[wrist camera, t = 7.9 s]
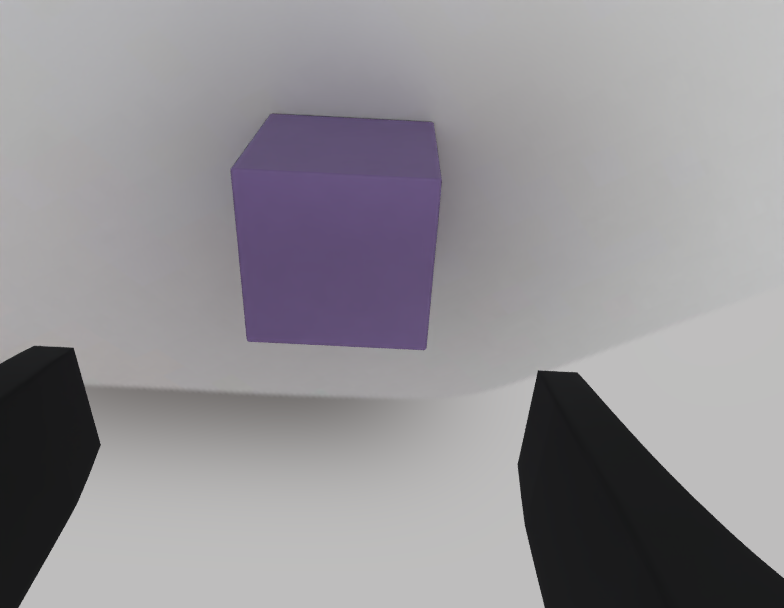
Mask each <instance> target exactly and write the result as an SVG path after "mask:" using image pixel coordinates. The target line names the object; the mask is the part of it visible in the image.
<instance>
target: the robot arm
mask: <svg viewBox="0 0 784 608" xmlns="http://www.w3.org/2000/svg"><path fill="white" fill-rule="evenodd" d="M100 445H101V444H100V441H99V437H98V434H97V430H96V426H95V423H94V419H93V416H92V412H91V408H90V405H89V401H88V398H87V394H86V391H85V387H84V383H83V380H82V376H81V373H80V369H79V366H78V362H77V358H76V355H75V351H74V348H67V347H47V346H33V347H31V348H29V349H27V350H25V351H23V352H21V353H19V354H17V355H15V356H13V357H12V358H10V359H8V360H6V361H4V362H3V363H1V364H0V608H18V607H19V605H20V604H21V602H22V600H23V599H24V597H25V595H26V593H27V592H28V590H29V588H30V586H31V584H32V583H33V581H34V579H35V578H36V576H37V574H38V572H39V571H40V569H41V567H42V565H43V564H44V562H45V560H46V558H47V557H48V555H49V553H50V551H51V550H52V548H53V546H54V544H55V543H56V541H57V539H58V537H59V535H60V534H61V532H62V530H63V528H64V527H65V525H66V523H67V521H68V519H69V518H70V516H71V514H72V512H73V510H74V508H75V506H76V505H77V502H78V500H79V498H80V495H81V493H82V491H83V488H84V486H85V484H86V481H87V479H88V477H89V474H90V471H91V469H92V466H93V464H94V461H95V458H96V455H97V453H98V450H99V448H100ZM518 472H519V481H520V490H521V499H522V506H523V514H524V522H525V527H526V532H527V536H528V540H529V545H530V549H531V553H532V557H533V561H534V565H535V570H536V574H537V578H538V582H539V586H540V590H541V594H542V597H543V602H544V606H545V608H784V578H783V577H781V576H780V575H779V574H778V573H776V571H774V570H773V569H772V568H771V567H770V566H768V565H767V564H766V563H765V562H764V561H762V560H761V559H760V558H759V557H758V556H756V555H755V554H754V553H753V552H752V551H751V550H750V549H748V548H747V547H746V546H745V545H744V544H743V543H742V542H741V541H740V540H738V539H737V538H736V537H735V536H734V535H733V534H732V533H730V531H729V530H727V529H726V528H725V527H724V526H723V525H722V524H721V523H720V522H719V521H718V520H717V519H716V518H715V517H714V516H713V515H711V513H709V512H708V511H707V510H706V509H705V508H704V507H703V506H702V505H701V504H700V503H699V502H698V501H697V500H696V499H695V498H694V497H693V496H692V495H691V494H689V492H688V491H687V490H686V489H684V487H683V486H681V484H680V483H679V482H678V481H677V480H676V479H675V478H674V477H673V476H672V475H670V473H669V472H668V471H667V470H666V469H665V468H664V467H663V466H662V465H661V464H660V463H659V462H658V461H657V460H656V459H655V458H654V457H653V456H652V454H650V452H648V450H647V449H646V448H645V447H644V446H643V445H642V444H641V443H640V442H639V441H638V439H637V438H636V437H635V436H634V435H633V434H632V433H631V432H630V431H629V430H628V429H627V428H626V426H625V425H624V424H623V423H622V422H621V421H620V420H619V419H618V418H617V416H616V415H615V414H614V413H613V412H612V411H611V410H610V409H609V407H608V406H607V405H606V404H605V403H604V402H603V401H602V399H601V398H600V397H599V396H598V395H597V394H596V393H595V392H594V391H593V389H592V388H591V387H590V386H589V385H588V384H587V383H586V381H585V380H584V379H583V378H582V377H581V376H580V375H579V374H578V373H576V372H557V371H538V373H537V378H536V383H535V387H534V392H533V397H532V401H531V406H530V410H529V415H528V420H527V424H526V429H525V433H524V438H523V443H522V447H521V452H520V457H519V461H518Z"/></svg>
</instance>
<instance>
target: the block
mask: <svg viewBox="0 0 784 608" xmlns="http://www.w3.org/2000/svg"><path fill="white" fill-rule="evenodd" d="M231 180H232V190H233V200H234V211H235V221H236V232H237V242H238V253H239V263H240V274H241V284H242V294H243V305H244V315H245V326H246V336H247V341H249V342H268V343H289V344H309V345H330V346H350V347H371V348H391V349H412V350H425V349H426V346H427V335H428V325H429V314H430V303H431V292H432V282H433V271H434V260H435V249H436V239H437V228H438V217H439V206H440V196H441V185H442V179H441V171H440V164H439V157H438V150H437V143H436V136H435V129H434V123H433V122H421V121H402V120H382V119H363V118H344V117H324V116H305V115H286V114H270V115H269V117H268V118H267V119H266V121H265V122H264V124H263V125H262V126H261V128H260V129H259V131H258V132H257V133H256V135H255V136H254V137H253V139H252V140H251V142H250V143H249V144H248V146H247V147H246V149H245V150H244V151H243V153H242V154H241V156H240V157H239V158H238V160H237V161H236V162H235V164H234V165H233V167H232V168H231Z"/></svg>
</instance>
